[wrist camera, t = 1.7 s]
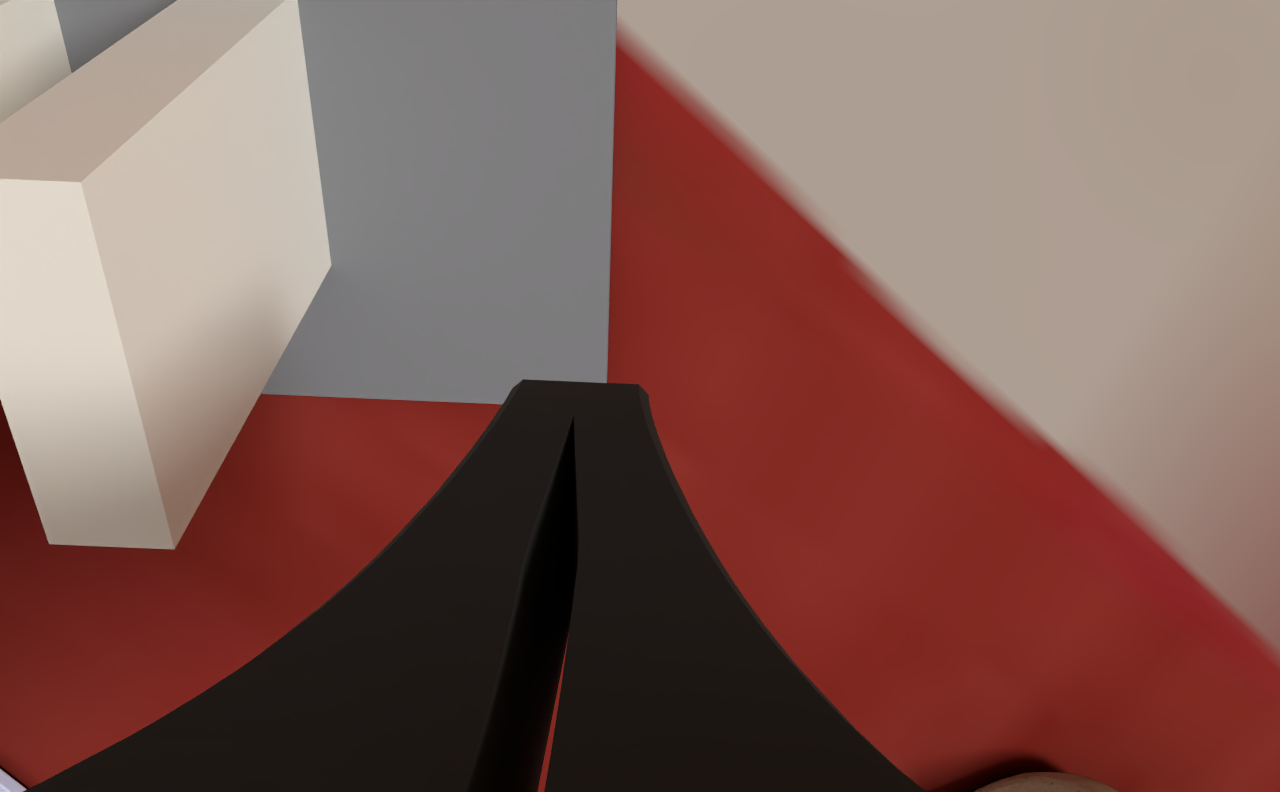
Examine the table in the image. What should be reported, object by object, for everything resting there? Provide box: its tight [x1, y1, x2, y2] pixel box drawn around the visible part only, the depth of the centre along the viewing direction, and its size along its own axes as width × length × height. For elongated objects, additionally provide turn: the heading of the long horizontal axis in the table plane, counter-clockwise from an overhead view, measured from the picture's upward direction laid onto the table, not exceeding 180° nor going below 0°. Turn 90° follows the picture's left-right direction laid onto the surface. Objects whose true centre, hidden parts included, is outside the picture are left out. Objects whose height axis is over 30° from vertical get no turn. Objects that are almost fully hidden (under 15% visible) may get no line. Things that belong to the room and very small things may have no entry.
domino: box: [0, 0, 331, 549], centre depth 16 cm, size 2×5×8 cm, turn 178°
